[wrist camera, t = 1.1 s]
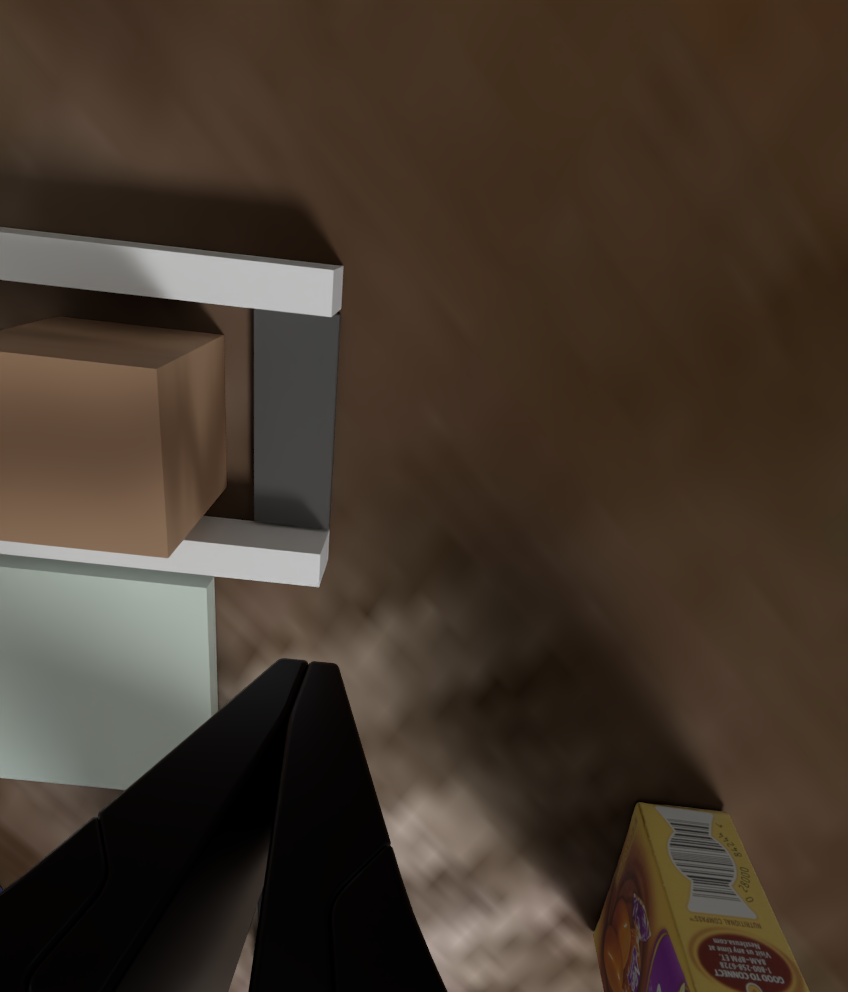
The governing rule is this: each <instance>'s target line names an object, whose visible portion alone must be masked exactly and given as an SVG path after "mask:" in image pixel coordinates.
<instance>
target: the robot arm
mask: <svg viewBox="0 0 848 992" xmlns="http://www.w3.org/2000/svg"><path fill="white" fill-rule="evenodd" d="M390 844H391V843H390V839H389V835H388V832H387V828H386V825H385V822H384V818H383V815H382V812H381V808H380V805H379V801H378V798H377V795H376V791H375V788H374V785H373V781H372V778H371V775H370V771H369V768H368V764H367V761H366V758H365V754H364V751H363V748H362V744H361V741H360V737H359V734H358V731H357V727H356V724H355V721H354V717H353V714H352V710H351V707H350V704H349V700H348V697H347V694H346V690H345V687H344V683H343V680H342V677H341V673H340V670H339V667H338V666H337V665H336V664H334V663H326V662H316V661H313V662H311V663H309V665H308V662H307V661H305V660H297V659H287V658H281V659H279V660H277V661H276V662H275V663H274V664H273V665H271V666H270V667H269V668H268V669H267V670H266V671H264V672H263V673H262V674H261V675H260V676H258V677H257V678H256V679H255V680H254V681H253V682H251V683H250V684H249V685H248V686H247V687H246V688H244V689H243V690H242V691H241V692H240V693H239V694H237V695H236V696H235V697H234V698H233V699H232V700H230V701H229V702H228V703H227V704H226V705H224V706H223V707H222V708H221V709H220V710H219V711H217V712H216V713H215V714H214V715H213V716H212V717H210V718H209V719H208V720H207V721H206V722H205V723H203V724H202V725H201V726H200V727H199V728H197V729H196V730H195V731H194V732H193V733H192V734H190V735H189V736H188V737H187V738H186V739H185V740H183V741H182V742H181V743H180V744H179V745H178V746H176V747H175V748H174V749H173V750H172V751H171V752H169V753H168V754H167V755H166V756H165V757H163V758H162V759H161V760H160V761H159V762H158V763H156V764H155V765H154V766H153V767H152V768H151V769H149V770H148V771H147V772H146V773H145V774H144V775H142V776H141V777H140V778H139V779H138V780H136V781H135V782H134V783H133V784H132V785H131V786H129V787H128V788H127V789H126V790H125V791H124V792H122V793H121V794H120V795H119V796H118V797H117V798H115V799H114V800H113V801H112V802H111V803H110V804H108V805H107V806H106V807H105V808H104V809H102V810H101V811H100V812H99V814H98V818H97V817H93V818H92V819H90V820H89V821H88V822H87V823H86V824H84V825H83V826H82V827H81V828H80V829H79V830H77V831H76V832H75V833H74V834H73V835H72V836H70V837H69V838H68V839H67V840H66V841H64V842H63V843H62V844H61V845H59V846H58V847H57V848H56V849H55V850H53V851H52V852H51V853H50V854H48V855H47V856H46V857H45V858H44V859H42V860H41V861H40V862H39V863H37V864H36V865H35V866H34V867H32V868H31V869H30V870H29V871H28V872H26V873H25V874H24V875H22V876H21V877H20V878H18V879H17V880H16V881H14V882H13V883H12V884H10V885H9V886H8V887H6V888H5V889H4V890H2V891H1V892H0V992H228V990H229V987H230V984H231V981H232V978H233V975H234V972H235V969H236V966H237V963H238V960H239V957H240V954H241V951H242V948H243V945H244V942H245V939H246V936H247V933H248V930H249V927H250V924H251V921H252V918H253V915H254V913H255V910H256V907H257V904H258V929H257V936H256V943H255V950H254V957H253V964H252V971H251V978H250V985H249V992H447V990H446V988H445V985H444V983H443V981H442V979H441V976H440V974H439V972H438V970H437V968H436V965H435V963H434V961H433V959H432V957H431V954H430V952H429V949H428V947H427V944H426V942H425V940H424V937H423V935H422V932H421V930H420V927H419V925H418V923H417V920H416V918H415V915H414V913H413V910H412V907H411V904H410V901H409V898H408V895H407V892H406V889H405V886H404V883H403V880H402V877H401V874H400V871H399V868H398V864H397V861H396V858H395V854H394V851H393V848H392V847H391V846H390Z"/></svg>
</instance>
